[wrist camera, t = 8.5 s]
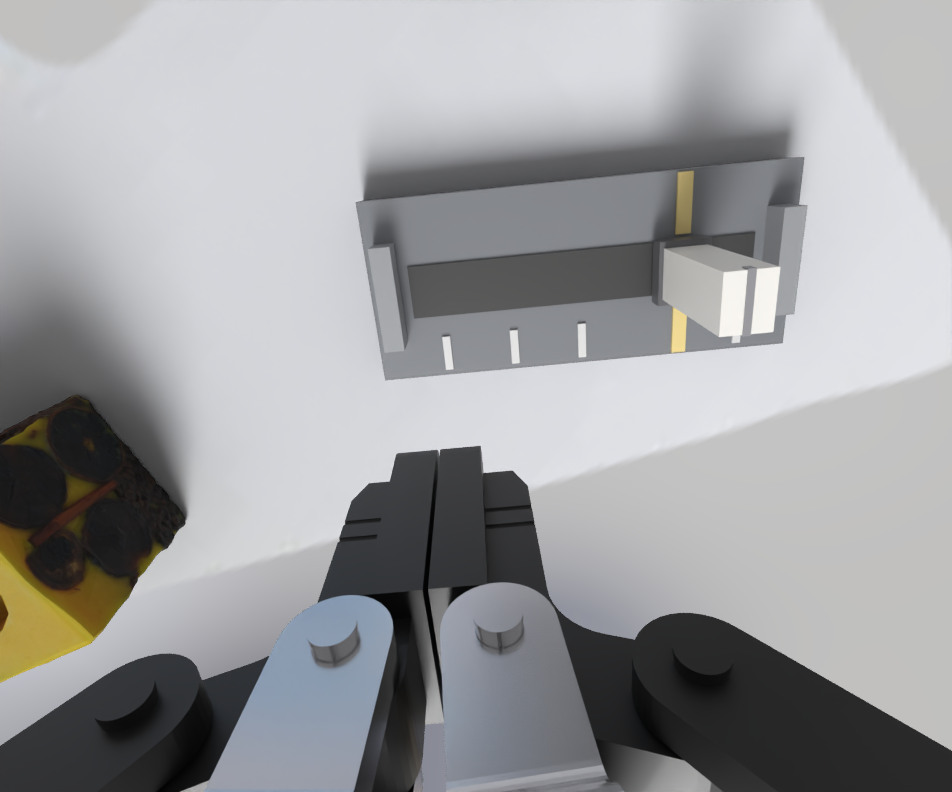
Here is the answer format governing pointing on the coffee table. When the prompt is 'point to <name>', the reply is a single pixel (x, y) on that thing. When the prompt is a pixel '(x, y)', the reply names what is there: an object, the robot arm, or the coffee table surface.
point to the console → (566, 265)
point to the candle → (71, 532)
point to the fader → (715, 286)
